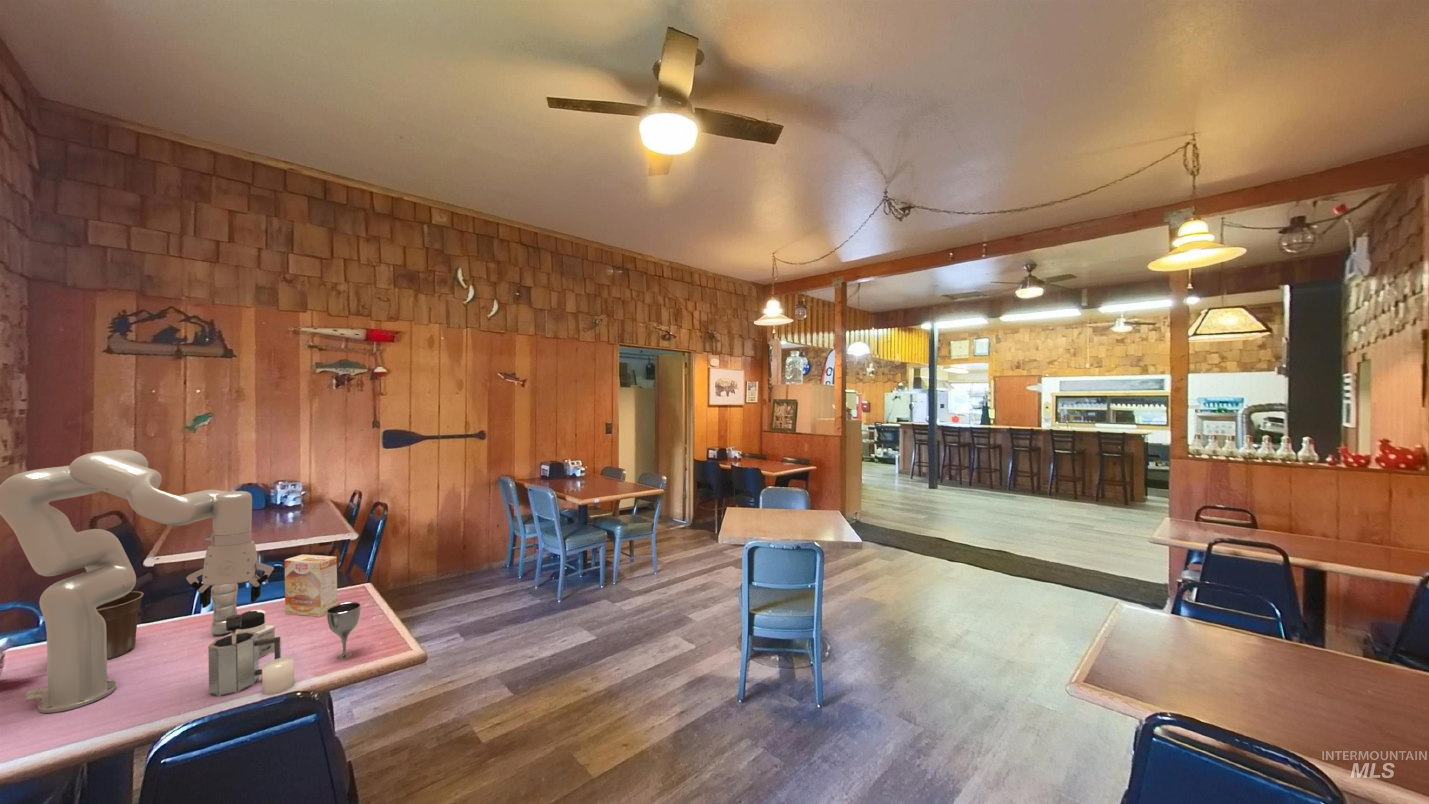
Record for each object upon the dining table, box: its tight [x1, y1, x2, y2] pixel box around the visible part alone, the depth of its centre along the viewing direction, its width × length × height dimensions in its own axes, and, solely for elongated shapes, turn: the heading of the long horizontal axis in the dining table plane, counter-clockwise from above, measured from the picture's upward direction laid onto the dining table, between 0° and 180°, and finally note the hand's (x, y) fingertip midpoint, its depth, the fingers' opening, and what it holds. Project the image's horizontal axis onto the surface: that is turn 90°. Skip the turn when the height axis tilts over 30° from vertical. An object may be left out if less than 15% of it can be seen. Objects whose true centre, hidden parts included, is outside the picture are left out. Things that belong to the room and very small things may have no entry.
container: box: [228, 609, 276, 659], centre depth 153 cm, size 8×8×13 cm
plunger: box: [226, 614, 242, 645], centre depth 136 cm, size 6×6×16 cm
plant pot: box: [96, 590, 144, 661], centre depth 153 cm, size 16×16×16 cm
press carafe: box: [207, 631, 282, 698], centre depth 137 cm, size 14×9×13 cm, turn 117°
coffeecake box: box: [284, 554, 338, 618], centre depth 184 cm, size 15×7×20 cm, turn 81°
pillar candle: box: [261, 656, 295, 695], centre depth 135 cm, size 6×6×7 cm
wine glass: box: [326, 601, 361, 660], centre depth 151 cm, size 8×8×15 cm
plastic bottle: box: [210, 583, 239, 636], centre depth 167 cm, size 6×7×20 cm
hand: (230, 603), depth 135 cm, fingers open, 9 cm apart
